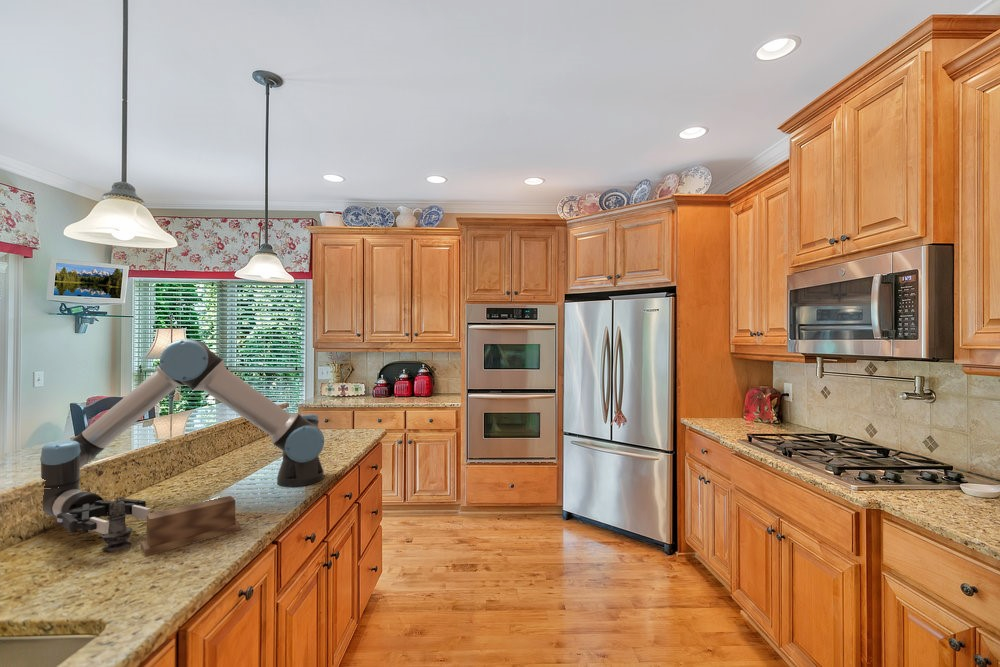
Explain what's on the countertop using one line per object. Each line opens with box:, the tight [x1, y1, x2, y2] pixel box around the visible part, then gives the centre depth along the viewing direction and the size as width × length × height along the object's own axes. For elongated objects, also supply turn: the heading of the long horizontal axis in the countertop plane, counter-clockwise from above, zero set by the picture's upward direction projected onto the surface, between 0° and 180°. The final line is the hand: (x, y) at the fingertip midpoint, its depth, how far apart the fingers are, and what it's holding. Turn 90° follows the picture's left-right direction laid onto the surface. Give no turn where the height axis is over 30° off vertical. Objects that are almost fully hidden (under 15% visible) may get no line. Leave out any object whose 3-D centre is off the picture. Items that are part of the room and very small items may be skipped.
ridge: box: [140, 495, 241, 557], centre depth 115 cm, size 20×6×8 cm, turn 135°
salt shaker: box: [100, 496, 134, 553], centre depth 111 cm, size 6×6×12 cm
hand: (128, 520), depth 109 cm, fingers open, 8 cm apart
